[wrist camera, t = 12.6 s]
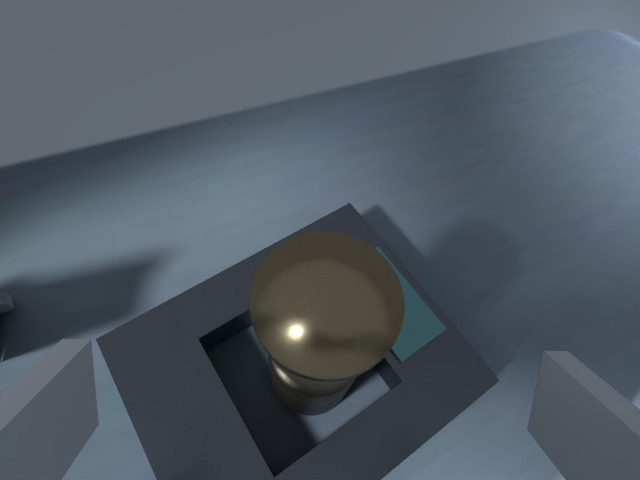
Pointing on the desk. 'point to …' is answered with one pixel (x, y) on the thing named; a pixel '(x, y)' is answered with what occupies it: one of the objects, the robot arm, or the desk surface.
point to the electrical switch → (6, 302)
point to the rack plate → (223, 416)
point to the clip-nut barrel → (324, 316)
